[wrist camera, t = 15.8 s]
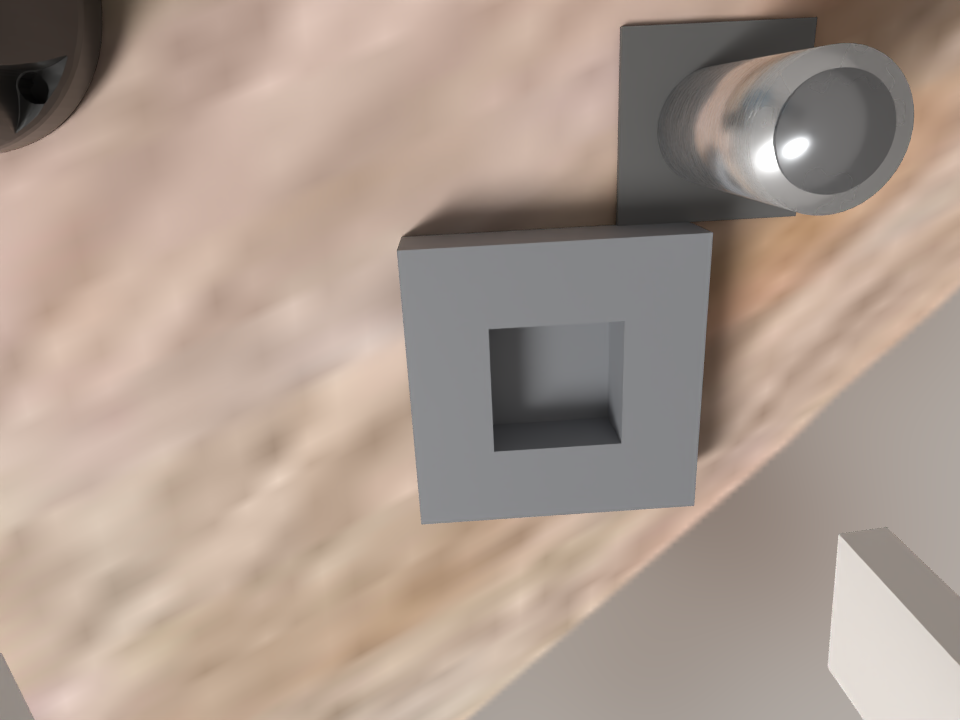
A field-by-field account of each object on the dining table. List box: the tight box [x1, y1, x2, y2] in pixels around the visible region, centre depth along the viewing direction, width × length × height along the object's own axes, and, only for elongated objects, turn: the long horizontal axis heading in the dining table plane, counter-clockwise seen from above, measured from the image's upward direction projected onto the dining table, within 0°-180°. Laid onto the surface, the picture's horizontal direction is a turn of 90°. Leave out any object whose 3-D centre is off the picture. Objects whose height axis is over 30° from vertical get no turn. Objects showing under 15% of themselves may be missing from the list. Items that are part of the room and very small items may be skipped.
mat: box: [616, 17, 817, 226], centre depth 37 cm, size 10×10×1 cm
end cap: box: [657, 43, 914, 215], centre depth 31 cm, size 6×6×12 cm
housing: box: [397, 222, 713, 524], centre depth 39 cm, size 16×16×4 cm
